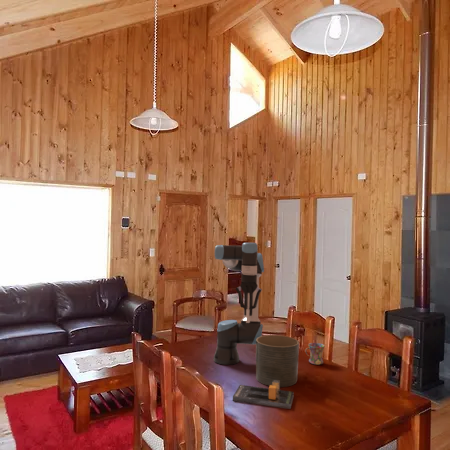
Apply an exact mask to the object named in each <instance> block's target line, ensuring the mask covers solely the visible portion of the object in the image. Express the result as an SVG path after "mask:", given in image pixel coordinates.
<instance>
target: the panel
mask: <svg viewBox="0 0 450 450" xmlns="http://www.w3.org/2000/svg"><path fill="white" fill-rule="evenodd" d="M272 385H273V386H276V399H275V400H274V399H269V387H268V388H266V387H259V386H258V387H257V386H253V385H252V386H251V385H245V384H244V385H243V384H239V385H238V387H237V389H236V391H235V392H234V394H233V395H232V401H233V402H239V403H246V404H252V405H259V406H267V407H272V408H279V409H280V408H281V409H289V410H291V408H292V404H293V401H294V397H295V396H294V394H295V393H294V391H289V390H282V389H280V388H281V387H280V381H279V380H273V382H272Z"/></svg>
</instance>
